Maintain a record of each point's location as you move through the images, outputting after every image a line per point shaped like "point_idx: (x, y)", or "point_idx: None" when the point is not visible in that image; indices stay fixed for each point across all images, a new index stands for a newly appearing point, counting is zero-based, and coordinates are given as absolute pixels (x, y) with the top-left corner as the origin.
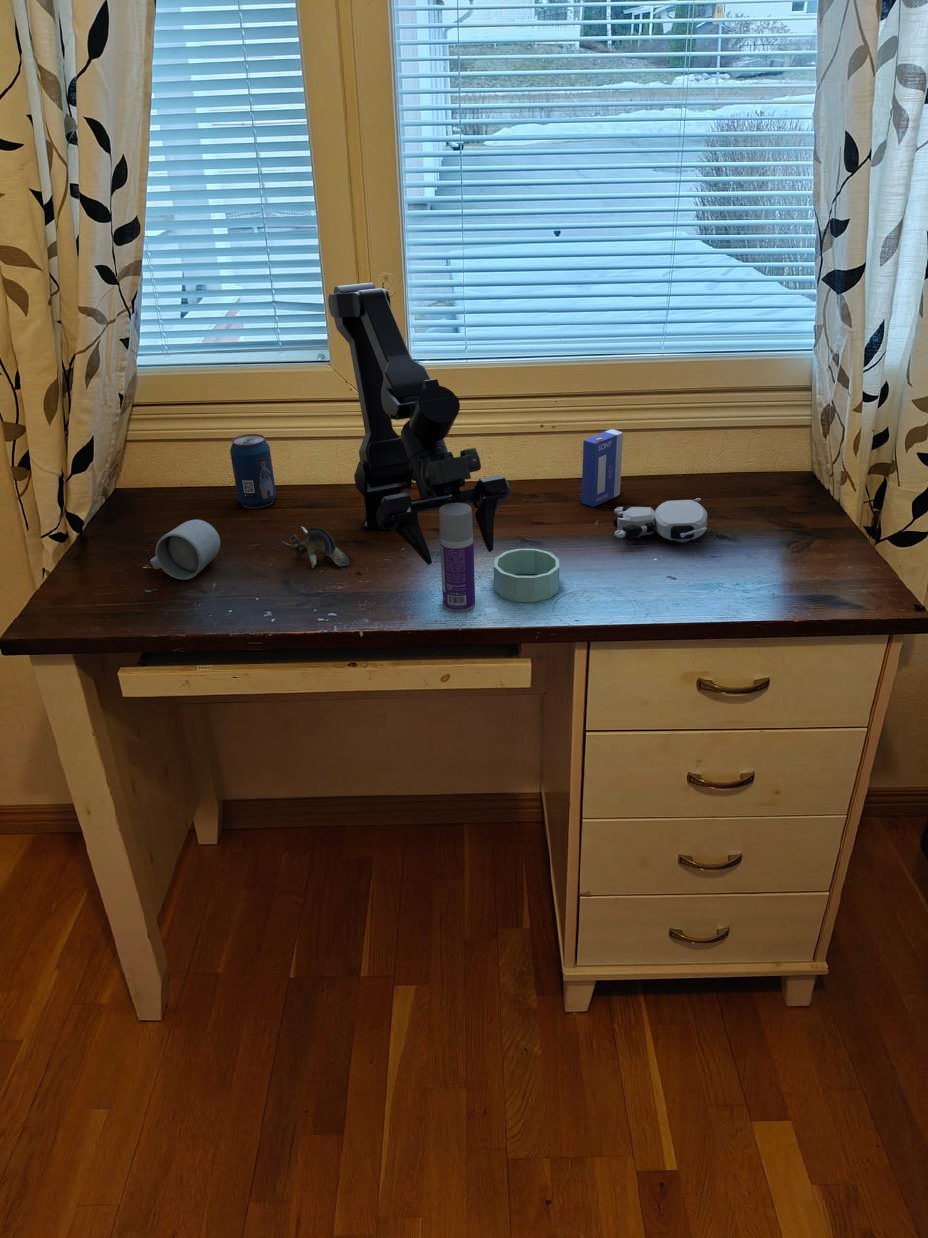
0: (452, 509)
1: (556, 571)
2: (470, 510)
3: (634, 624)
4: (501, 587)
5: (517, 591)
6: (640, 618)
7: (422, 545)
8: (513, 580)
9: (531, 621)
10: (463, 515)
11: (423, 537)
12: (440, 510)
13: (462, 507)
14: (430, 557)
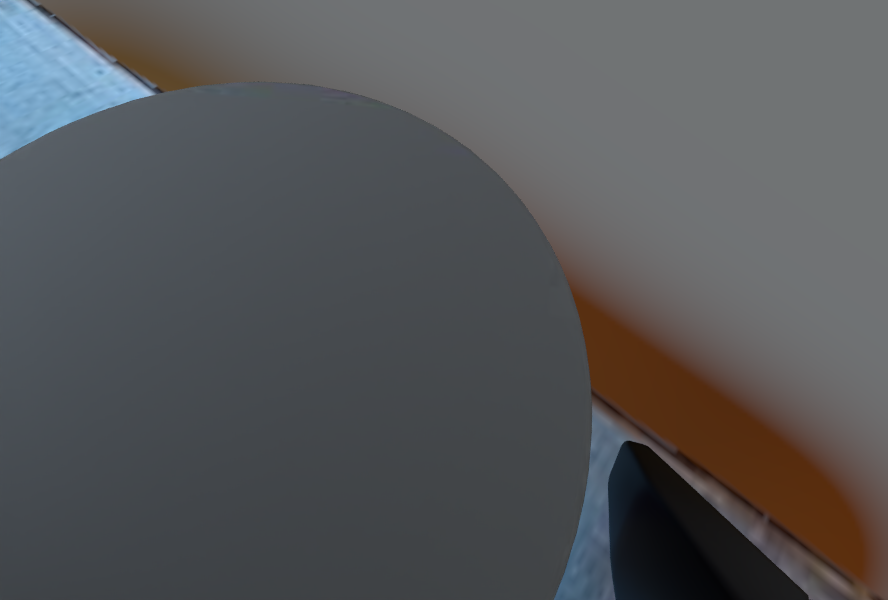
0: (259, 385)
1: None
2: (82, 121)
3: (144, 83)
4: None
5: None
6: (107, 91)
7: (728, 538)
8: None
9: None
10: (307, 98)
11: (732, 591)
12: (538, 556)
13: (21, 322)
14: (639, 453)
